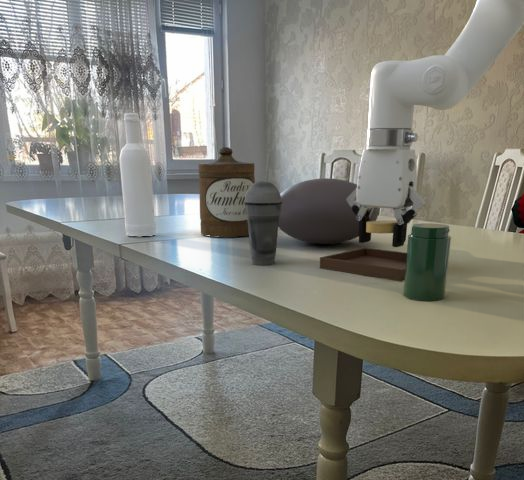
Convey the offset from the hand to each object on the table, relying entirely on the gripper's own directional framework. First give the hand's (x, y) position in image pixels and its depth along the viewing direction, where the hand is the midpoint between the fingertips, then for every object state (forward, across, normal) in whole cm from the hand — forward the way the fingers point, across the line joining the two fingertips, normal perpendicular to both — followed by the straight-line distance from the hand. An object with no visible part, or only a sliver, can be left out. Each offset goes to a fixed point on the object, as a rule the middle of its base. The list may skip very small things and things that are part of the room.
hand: (381, 243), depth 101 cm
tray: (+5, 0, 0) cm, 5 cm away
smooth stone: (+5, +26, -17) cm, 31 cm away
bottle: (+5, +71, +4) cm, 71 cm away
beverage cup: (+5, +20, +11) cm, 23 cm away
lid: (-3, 0, 0) cm, 3 cm away
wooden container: (+5, +55, -13) cm, 57 cm away
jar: (+5, -16, +14) cm, 22 cm away
